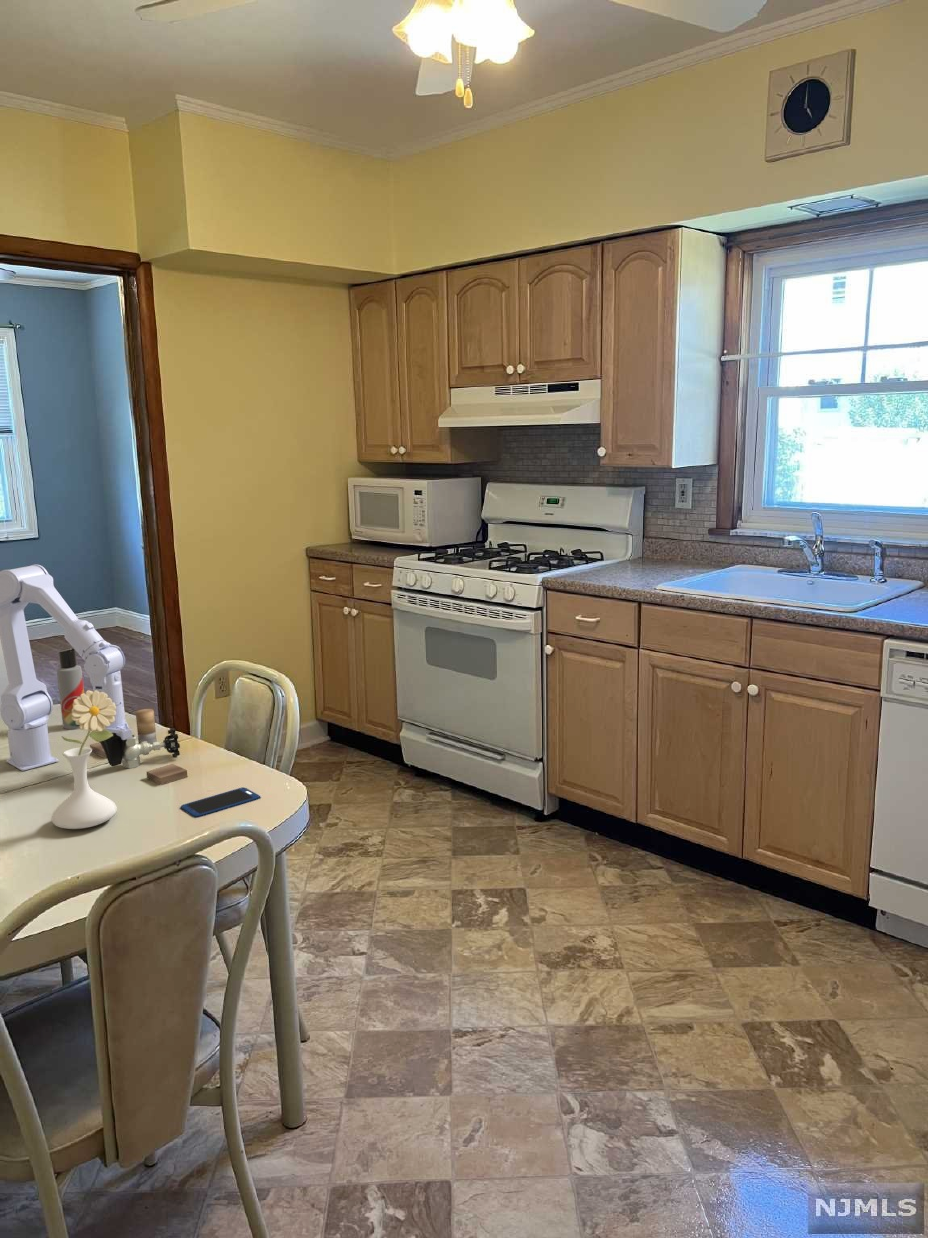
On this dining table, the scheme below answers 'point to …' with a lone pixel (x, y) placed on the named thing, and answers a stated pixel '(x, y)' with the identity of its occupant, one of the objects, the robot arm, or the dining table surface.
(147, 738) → the marker peg
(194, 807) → the cell phone
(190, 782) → the dining table surface
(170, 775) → the blocks
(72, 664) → the lotion bottle
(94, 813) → the flower in vase
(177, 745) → the valve
